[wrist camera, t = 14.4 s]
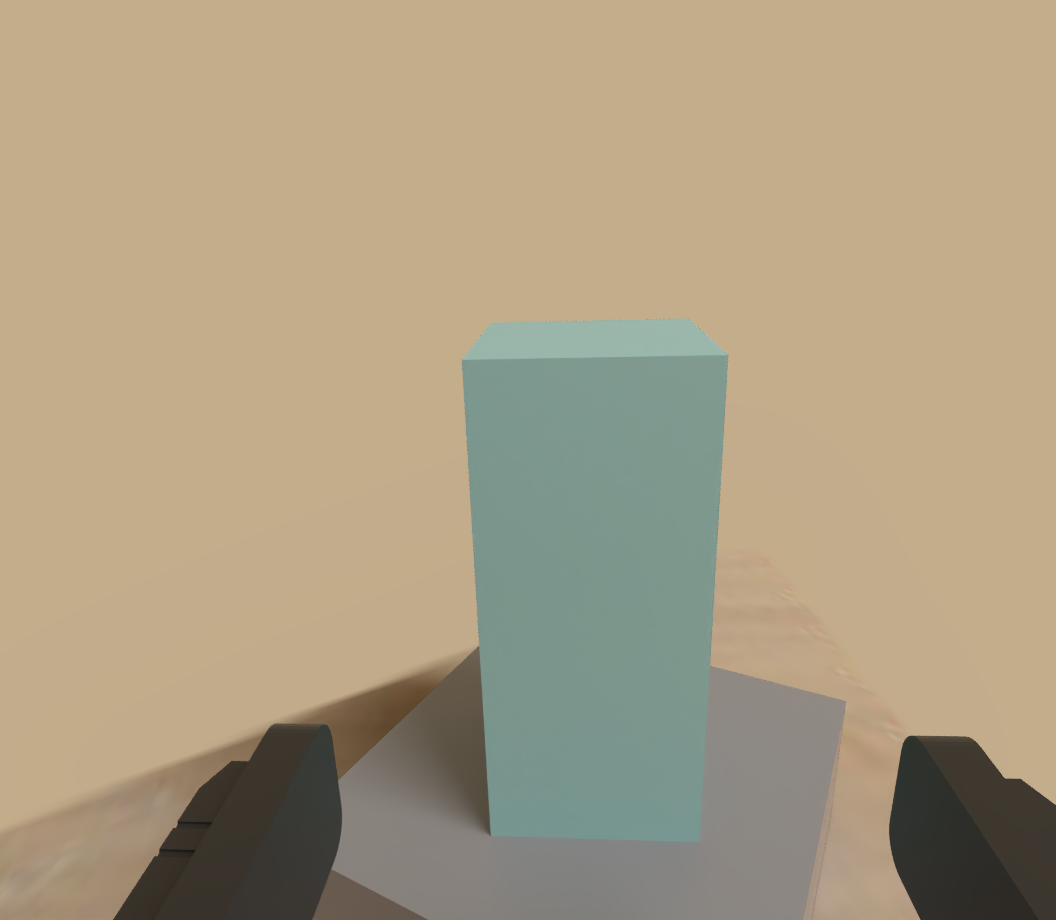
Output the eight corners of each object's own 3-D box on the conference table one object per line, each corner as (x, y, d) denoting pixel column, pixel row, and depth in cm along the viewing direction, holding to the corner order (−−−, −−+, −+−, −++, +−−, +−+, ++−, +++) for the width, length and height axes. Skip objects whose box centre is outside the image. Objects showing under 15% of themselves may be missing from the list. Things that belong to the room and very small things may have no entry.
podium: (297, 963, 23) (275, 839, 21) (516, 706, 34) (512, 614, 33) (751, 1243, 16) (768, 1096, 15) (831, 810, 28) (846, 701, 26)
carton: (490, 835, 21) (461, 359, 16) (509, 703, 27) (491, 323, 22) (699, 841, 21) (728, 354, 16) (673, 706, 26) (688, 318, 22)
